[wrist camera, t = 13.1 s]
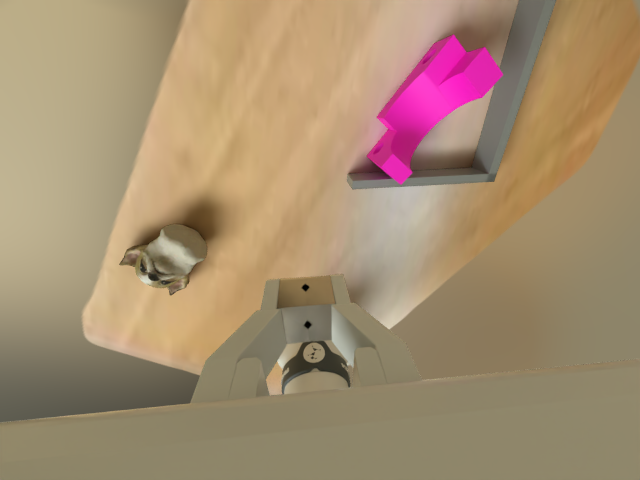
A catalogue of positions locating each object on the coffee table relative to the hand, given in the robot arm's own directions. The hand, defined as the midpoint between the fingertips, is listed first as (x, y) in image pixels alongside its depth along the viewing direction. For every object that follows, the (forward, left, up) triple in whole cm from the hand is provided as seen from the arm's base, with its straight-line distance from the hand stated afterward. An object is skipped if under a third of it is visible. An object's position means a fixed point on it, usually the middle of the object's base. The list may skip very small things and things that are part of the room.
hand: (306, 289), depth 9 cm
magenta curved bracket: (+5, -15, -30) cm, 34 cm away
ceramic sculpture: (-15, +23, -30) cm, 40 cm away
